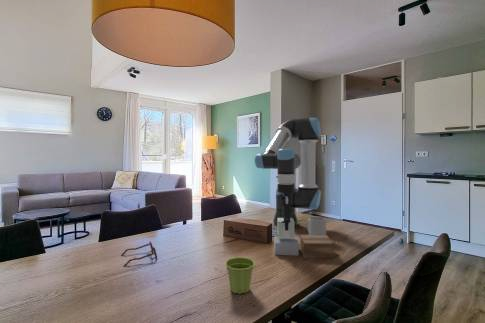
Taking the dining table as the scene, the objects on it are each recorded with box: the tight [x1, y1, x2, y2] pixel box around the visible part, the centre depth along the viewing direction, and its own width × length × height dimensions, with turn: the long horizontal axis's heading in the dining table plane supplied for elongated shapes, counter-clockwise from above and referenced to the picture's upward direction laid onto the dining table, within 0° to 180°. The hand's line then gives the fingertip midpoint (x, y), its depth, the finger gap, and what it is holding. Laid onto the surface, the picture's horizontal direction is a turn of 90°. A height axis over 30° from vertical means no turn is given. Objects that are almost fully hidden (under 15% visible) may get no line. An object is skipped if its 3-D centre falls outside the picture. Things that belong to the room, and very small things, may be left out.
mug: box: [306, 216, 327, 235], centre depth 133 cm, size 12×8×11 cm
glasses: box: [120, 241, 158, 267], centre depth 110 cm, size 13×13×5 cm
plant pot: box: [225, 257, 256, 295], centre depth 83 cm, size 9×9×9 cm
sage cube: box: [276, 218, 295, 238], centre depth 116 cm, size 7×7×7 cm
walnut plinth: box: [299, 234, 334, 259], centre depth 115 cm, size 12×12×6 cm
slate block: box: [273, 235, 300, 256], centre depth 117 cm, size 10×10×5 cm
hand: (285, 234), depth 117 cm, fingers closed on sage cube, 7 cm apart
